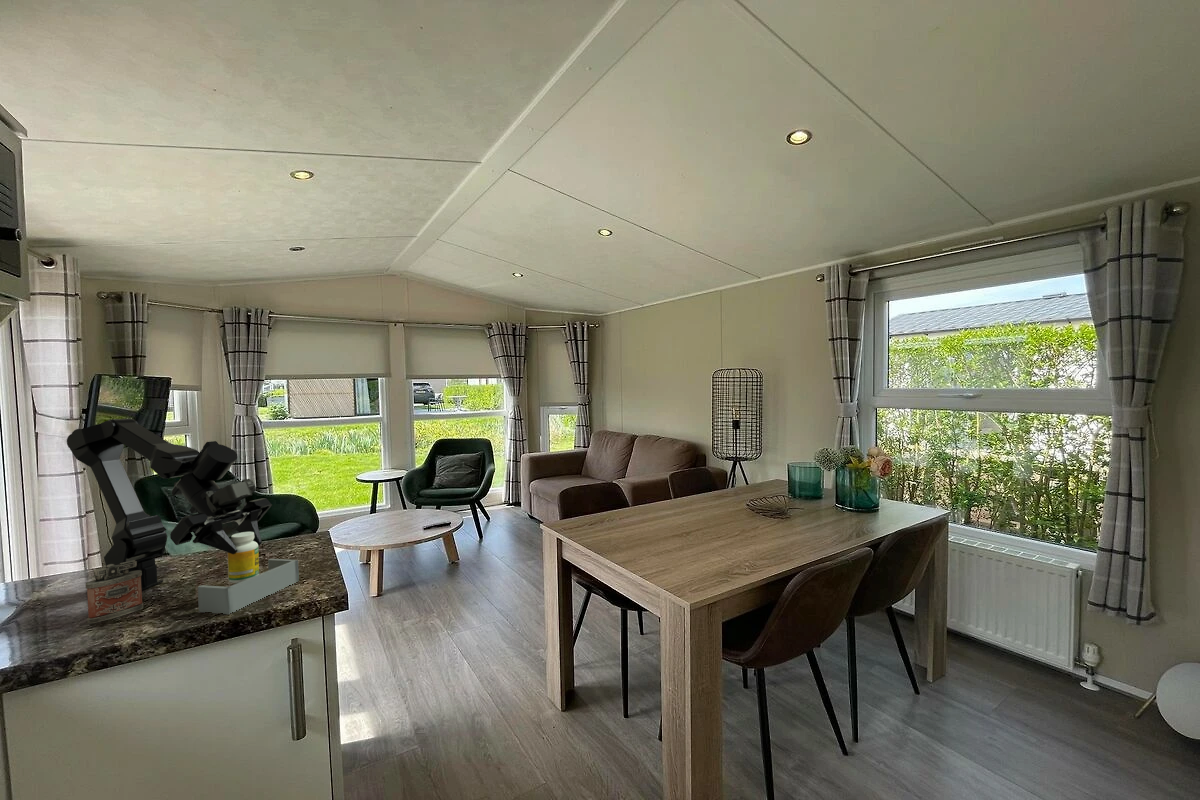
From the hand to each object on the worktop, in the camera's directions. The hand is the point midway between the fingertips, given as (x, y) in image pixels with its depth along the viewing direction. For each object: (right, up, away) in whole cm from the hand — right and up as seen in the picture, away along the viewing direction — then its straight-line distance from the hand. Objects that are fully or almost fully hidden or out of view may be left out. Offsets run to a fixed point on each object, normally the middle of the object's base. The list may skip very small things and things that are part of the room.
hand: (248, 548), depth 105 cm
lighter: (-21, -11, -7) cm, 25 cm away
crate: (0, -10, 0) cm, 10 cm away
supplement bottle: (-1, -7, 0) cm, 7 cm away
